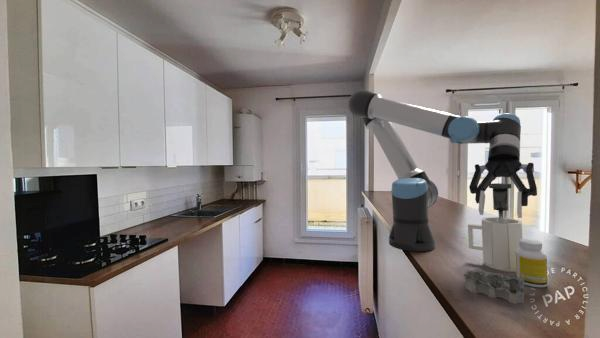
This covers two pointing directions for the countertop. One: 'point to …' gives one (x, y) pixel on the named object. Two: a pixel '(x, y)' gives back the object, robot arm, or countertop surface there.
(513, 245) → the white paneled mug
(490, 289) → the egg carton
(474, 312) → the countertop surface
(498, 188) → the plunger
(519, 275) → the supplement bottle
